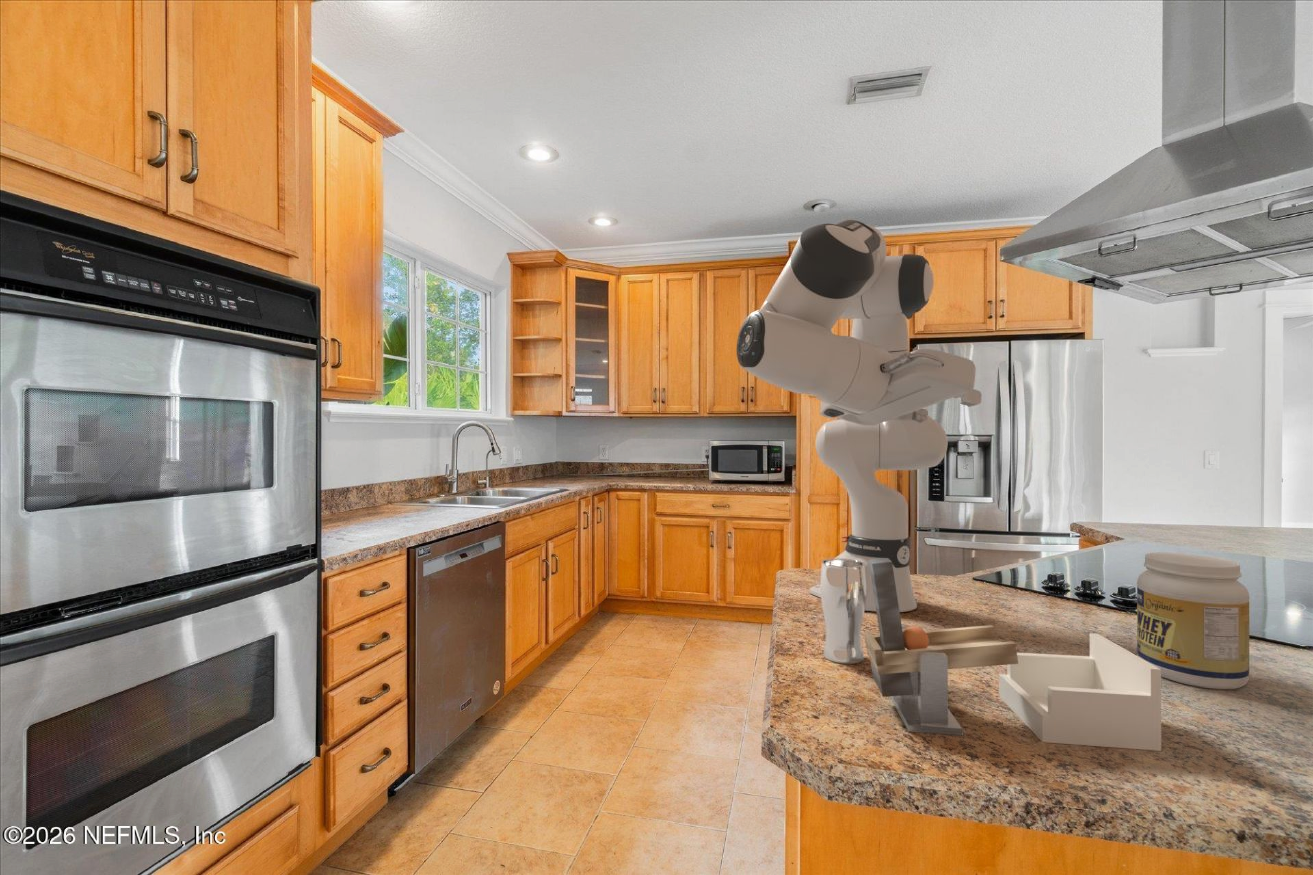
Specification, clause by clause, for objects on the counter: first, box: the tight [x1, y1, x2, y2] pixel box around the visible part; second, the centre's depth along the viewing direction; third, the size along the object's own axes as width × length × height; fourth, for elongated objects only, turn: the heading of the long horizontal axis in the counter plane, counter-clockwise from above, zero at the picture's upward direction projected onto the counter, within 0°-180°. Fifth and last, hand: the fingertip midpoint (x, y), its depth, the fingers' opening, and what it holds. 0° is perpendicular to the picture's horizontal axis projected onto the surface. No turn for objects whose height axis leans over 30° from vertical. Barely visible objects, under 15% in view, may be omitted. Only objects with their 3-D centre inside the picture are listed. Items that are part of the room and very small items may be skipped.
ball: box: [903, 626, 929, 650], centre depth 75 cm, size 3×3×3 cm
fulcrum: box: [889, 625, 964, 736], centre depth 75 cm, size 6×12×9 cm, turn 171°
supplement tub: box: [1136, 551, 1250, 690], centre depth 86 cm, size 12×12×17 cm
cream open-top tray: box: [998, 633, 1162, 752], centre depth 72 cm, size 12×12×9 cm
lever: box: [863, 558, 1018, 698], centre depth 74 cm, size 16×8×16 cm, turn 81°
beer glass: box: [819, 557, 866, 665], centre depth 93 cm, size 7×7×15 cm
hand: (949, 409), depth 78 cm, fingers open, 8 cm apart
